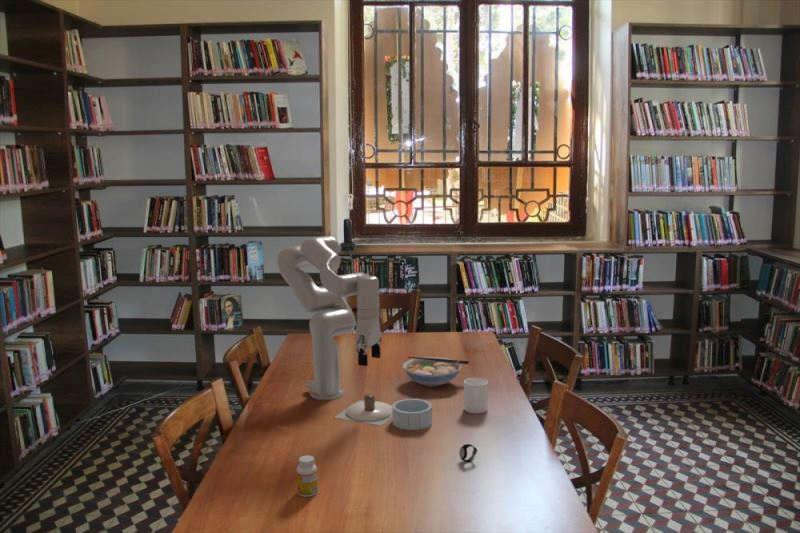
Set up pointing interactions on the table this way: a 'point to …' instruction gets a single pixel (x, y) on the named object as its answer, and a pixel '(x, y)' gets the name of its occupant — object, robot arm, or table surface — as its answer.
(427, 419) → the bowl
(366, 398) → the lid
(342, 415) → the mat
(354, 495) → the table surface
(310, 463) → the supplement bottle
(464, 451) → the smartwatch
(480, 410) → the mug
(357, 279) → the robot arm
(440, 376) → the ramen bowl
